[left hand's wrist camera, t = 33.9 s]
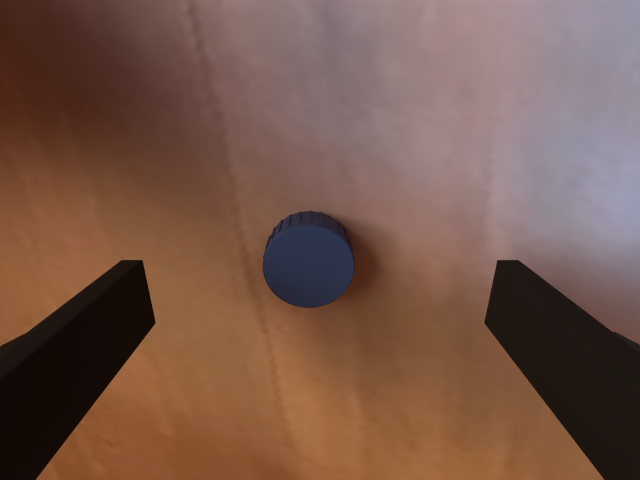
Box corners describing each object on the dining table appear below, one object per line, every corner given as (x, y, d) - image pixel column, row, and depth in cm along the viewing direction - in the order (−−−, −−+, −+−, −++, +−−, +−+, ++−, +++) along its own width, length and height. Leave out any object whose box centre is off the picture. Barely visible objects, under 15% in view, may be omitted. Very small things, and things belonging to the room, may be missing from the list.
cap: (254, 225, 16) (246, 241, 14) (336, 198, 16) (339, 211, 14) (284, 296, 18) (281, 319, 16) (360, 273, 17) (366, 293, 15)
